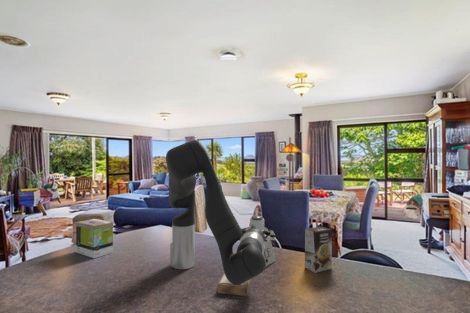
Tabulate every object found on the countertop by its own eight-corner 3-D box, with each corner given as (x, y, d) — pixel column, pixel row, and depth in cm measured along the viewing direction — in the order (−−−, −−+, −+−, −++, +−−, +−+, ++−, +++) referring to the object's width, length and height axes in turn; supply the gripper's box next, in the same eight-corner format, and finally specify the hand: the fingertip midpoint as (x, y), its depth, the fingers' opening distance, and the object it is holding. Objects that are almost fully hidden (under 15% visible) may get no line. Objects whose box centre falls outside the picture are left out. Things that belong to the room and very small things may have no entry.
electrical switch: (264, 268, 112) (262, 245, 112) (253, 266, 115) (252, 243, 115) (275, 261, 119) (274, 239, 120) (265, 259, 122) (264, 238, 123)
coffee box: (315, 273, 107) (315, 232, 107) (304, 267, 112) (304, 228, 112) (332, 269, 111) (332, 229, 111) (320, 263, 117) (320, 225, 116)
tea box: (113, 252, 130) (113, 221, 130) (93, 259, 121) (93, 226, 121) (95, 246, 138) (95, 217, 138) (75, 252, 129) (75, 221, 129)
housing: (248, 254, 96) (249, 218, 96) (250, 249, 101) (250, 215, 101) (263, 255, 95) (263, 218, 95) (264, 250, 101) (264, 215, 101)
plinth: (217, 292, 91) (217, 283, 91) (226, 276, 104) (226, 267, 104) (247, 296, 89) (247, 285, 89) (252, 278, 102) (252, 269, 102)
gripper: (275, 233, 83) (277, 220, 100) (229, 230, 86) (238, 218, 102) (275, 257, 83) (277, 240, 100) (229, 254, 86) (238, 238, 102)
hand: (257, 229), depth 101 cm, fingers closed on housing, 5 cm apart
